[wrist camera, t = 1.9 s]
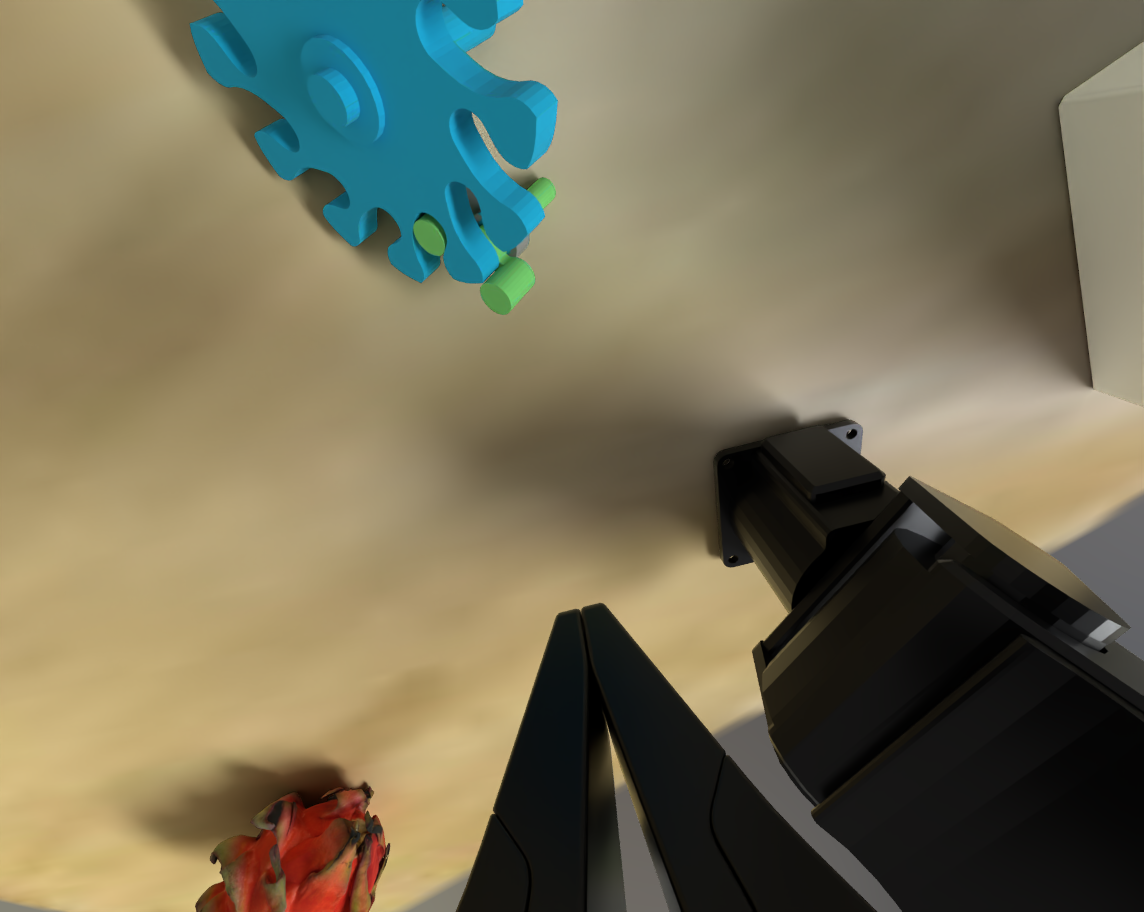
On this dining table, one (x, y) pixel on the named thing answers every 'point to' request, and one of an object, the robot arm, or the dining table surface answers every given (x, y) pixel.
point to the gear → (397, 124)
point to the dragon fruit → (302, 858)
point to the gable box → (1110, 218)
